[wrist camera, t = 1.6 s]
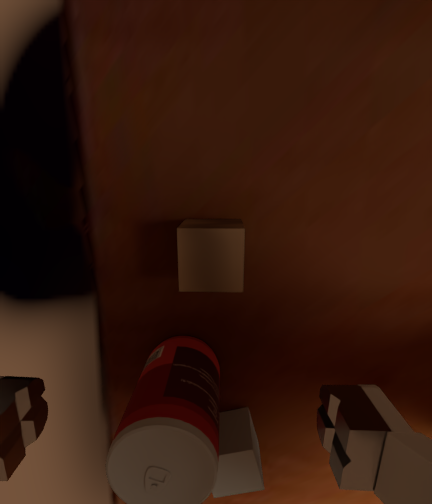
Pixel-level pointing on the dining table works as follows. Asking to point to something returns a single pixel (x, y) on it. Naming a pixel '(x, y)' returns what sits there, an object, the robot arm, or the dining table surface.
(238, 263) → the walnut block
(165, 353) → the canned food
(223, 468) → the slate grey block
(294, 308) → the dining table surface
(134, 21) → the dining table surface
